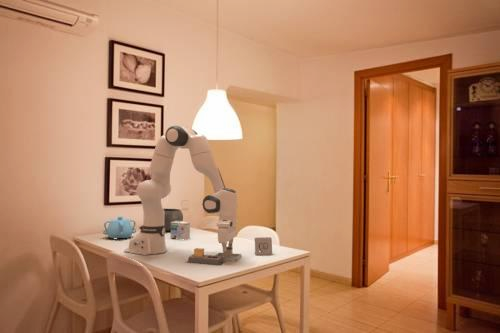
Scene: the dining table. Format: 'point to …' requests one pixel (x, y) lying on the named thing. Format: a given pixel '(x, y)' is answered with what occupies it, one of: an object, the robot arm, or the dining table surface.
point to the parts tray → (229, 257)
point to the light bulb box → (180, 230)
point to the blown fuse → (228, 252)
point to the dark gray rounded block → (172, 217)
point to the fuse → (198, 252)
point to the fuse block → (206, 260)
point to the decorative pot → (119, 228)
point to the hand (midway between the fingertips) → (227, 248)
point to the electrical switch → (263, 246)
